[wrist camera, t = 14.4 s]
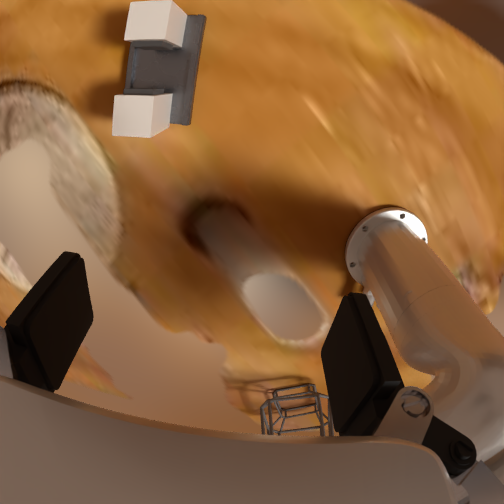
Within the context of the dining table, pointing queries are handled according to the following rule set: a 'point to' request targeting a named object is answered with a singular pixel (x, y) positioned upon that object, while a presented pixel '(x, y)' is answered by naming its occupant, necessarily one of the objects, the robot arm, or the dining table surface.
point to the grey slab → (171, 69)
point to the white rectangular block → (141, 112)
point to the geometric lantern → (281, 398)
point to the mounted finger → (155, 25)
